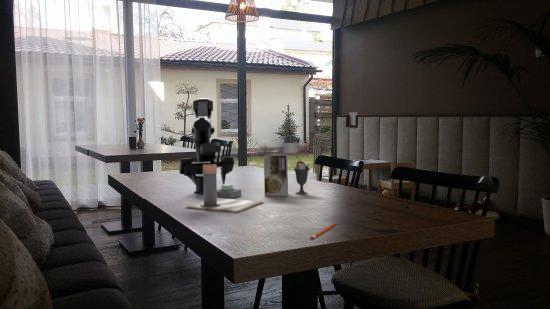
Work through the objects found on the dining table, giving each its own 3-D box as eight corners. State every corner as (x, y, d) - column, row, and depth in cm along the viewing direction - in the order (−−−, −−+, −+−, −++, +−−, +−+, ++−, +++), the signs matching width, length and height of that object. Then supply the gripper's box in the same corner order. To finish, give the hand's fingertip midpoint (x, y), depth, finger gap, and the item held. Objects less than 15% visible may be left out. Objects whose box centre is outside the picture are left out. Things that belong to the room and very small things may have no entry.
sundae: (290, 193, 183) (290, 156, 182) (304, 191, 186) (304, 155, 185) (298, 195, 177) (297, 157, 176) (312, 194, 180) (312, 156, 179)
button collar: (213, 197, 174) (212, 191, 173) (223, 194, 181) (223, 188, 181) (230, 198, 170) (230, 192, 170) (241, 195, 177) (241, 189, 177)
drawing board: (185, 208, 153) (185, 206, 153) (216, 199, 170) (216, 197, 170) (236, 213, 144) (236, 210, 144) (263, 203, 162) (263, 201, 161)
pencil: (309, 240, 113) (310, 236, 113) (335, 224, 129) (335, 221, 129) (313, 240, 112) (313, 237, 112) (338, 224, 129) (338, 221, 129)
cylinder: (200, 205, 153) (200, 164, 152) (210, 203, 157) (209, 163, 156) (210, 207, 151) (209, 165, 150) (220, 205, 154) (219, 164, 153)
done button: (219, 192, 174) (219, 185, 174) (225, 190, 178) (225, 184, 178) (229, 192, 172) (229, 186, 172) (234, 191, 176) (234, 184, 176)
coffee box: (288, 193, 181) (288, 153, 180) (287, 196, 175) (287, 155, 174) (265, 193, 182) (265, 153, 181) (263, 196, 176) (263, 155, 175)
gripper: (179, 135, 153) (185, 170, 143) (232, 134, 159) (241, 168, 150) (176, 156, 161) (182, 191, 151) (227, 154, 167) (235, 188, 158)
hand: (210, 184), depth 152 cm, fingers open, 9 cm apart
